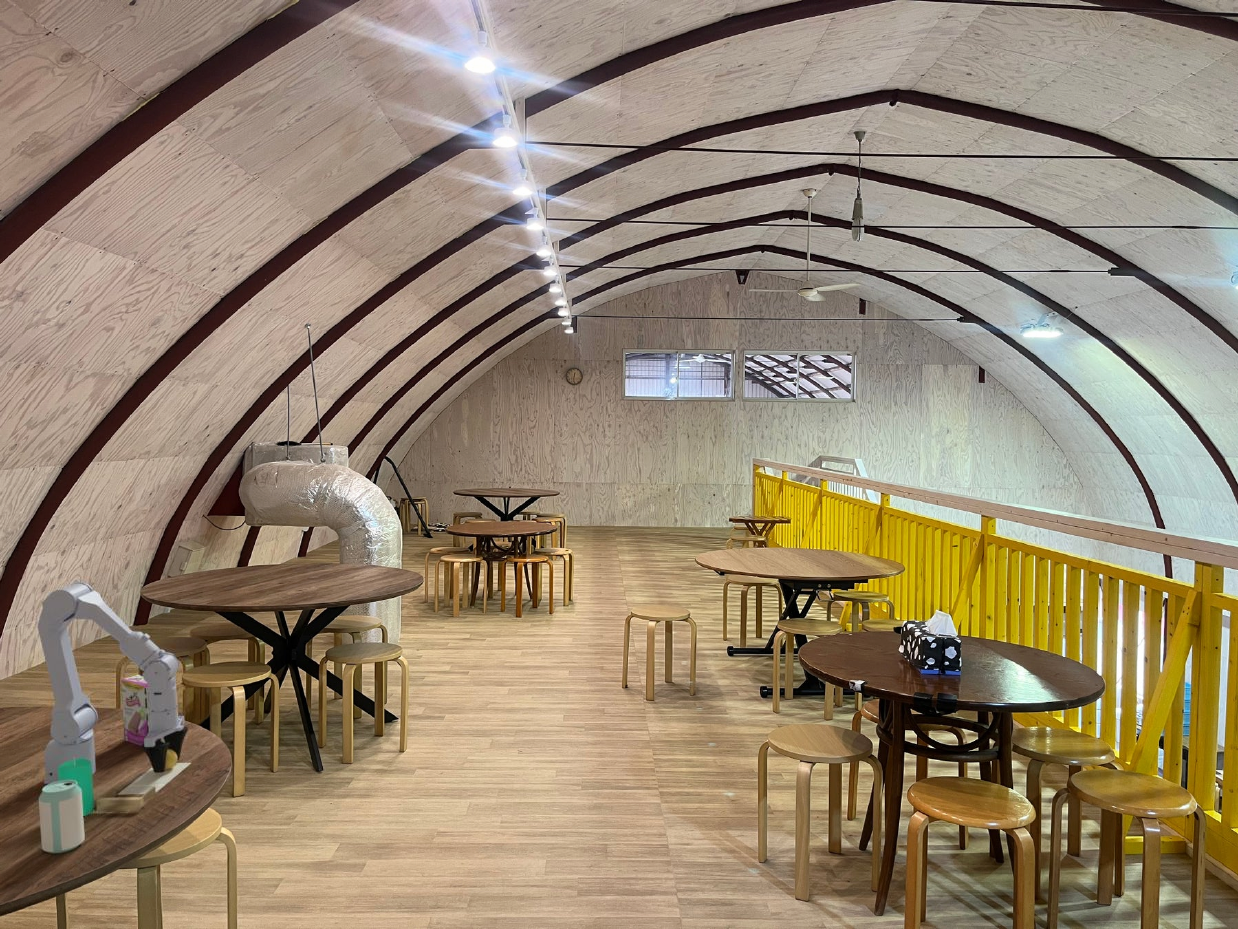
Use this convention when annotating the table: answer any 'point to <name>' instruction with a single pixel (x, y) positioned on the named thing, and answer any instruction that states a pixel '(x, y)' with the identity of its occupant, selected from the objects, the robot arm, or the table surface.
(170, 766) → the ball
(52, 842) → the can
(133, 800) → the rail
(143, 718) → the candy bar box
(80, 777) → the candle
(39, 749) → the table surface
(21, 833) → the table surface
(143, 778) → the lane
